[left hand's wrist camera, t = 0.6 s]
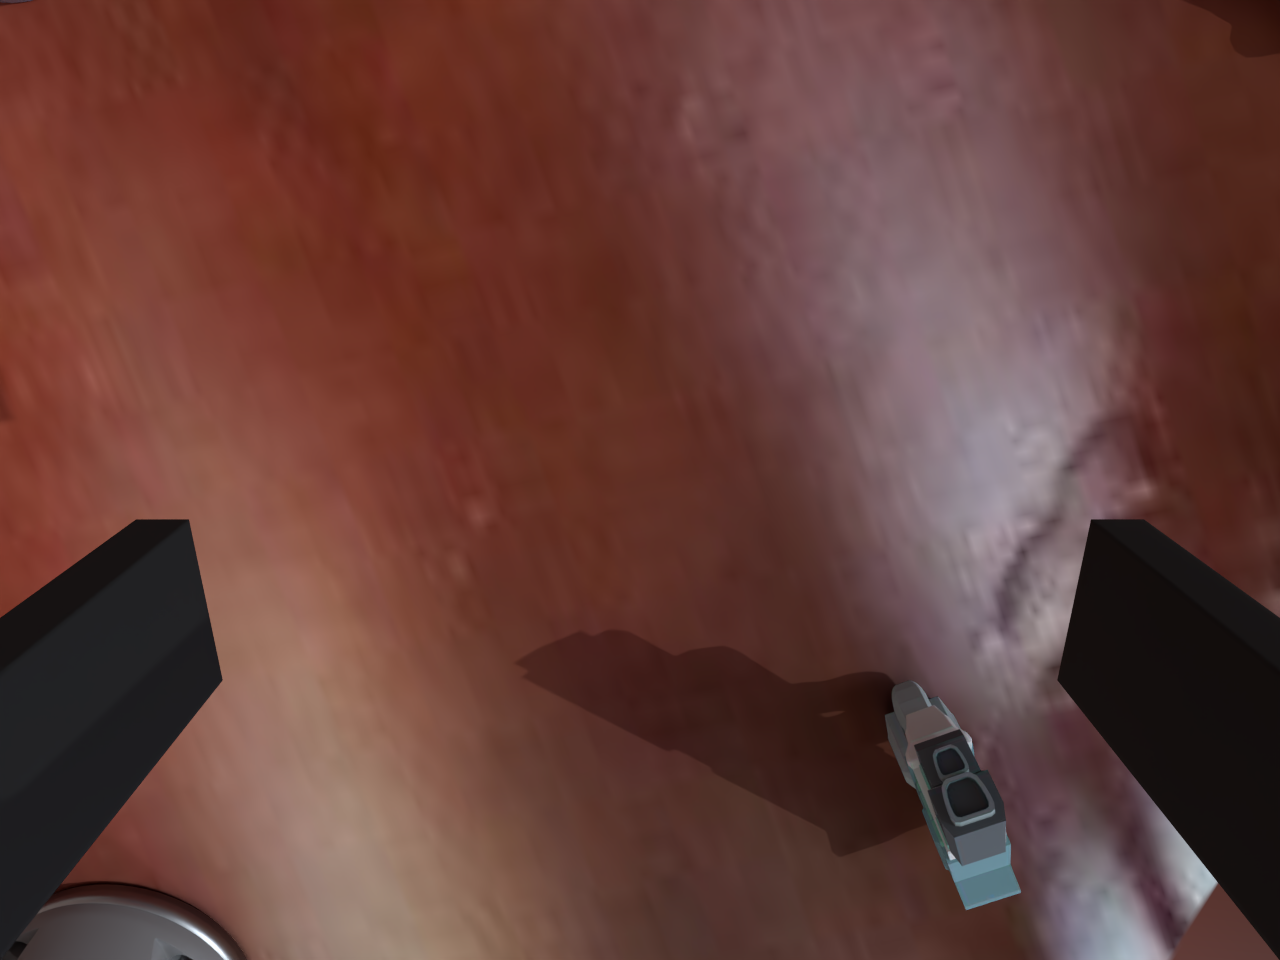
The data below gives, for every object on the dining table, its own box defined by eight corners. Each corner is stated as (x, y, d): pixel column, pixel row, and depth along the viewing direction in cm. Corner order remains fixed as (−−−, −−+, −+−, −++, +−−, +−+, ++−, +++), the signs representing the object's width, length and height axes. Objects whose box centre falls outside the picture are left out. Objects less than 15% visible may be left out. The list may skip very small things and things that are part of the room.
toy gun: (920, 594, 37) (1036, 827, 31) (944, 719, 52) (1026, 891, 46) (840, 624, 37) (939, 859, 31) (887, 739, 52) (961, 912, 46)
